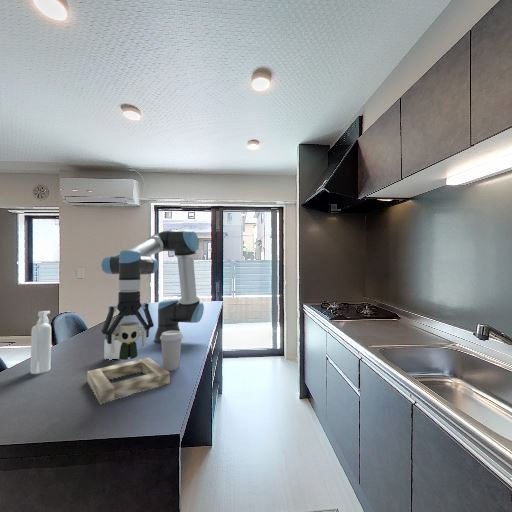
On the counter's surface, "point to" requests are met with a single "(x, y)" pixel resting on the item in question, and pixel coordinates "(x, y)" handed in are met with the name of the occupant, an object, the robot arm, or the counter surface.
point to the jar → (116, 349)
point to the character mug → (128, 339)
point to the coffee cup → (171, 349)
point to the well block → (109, 391)
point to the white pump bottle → (41, 344)
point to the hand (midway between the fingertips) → (128, 349)
